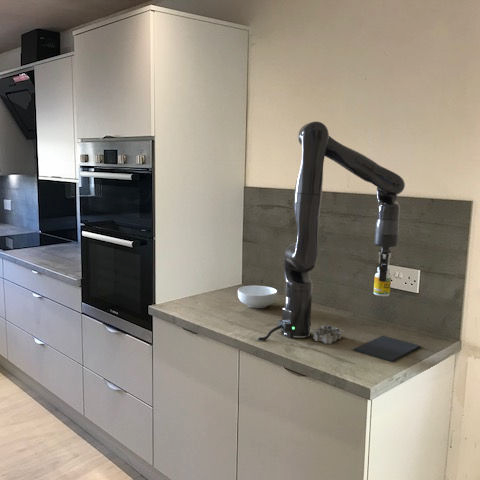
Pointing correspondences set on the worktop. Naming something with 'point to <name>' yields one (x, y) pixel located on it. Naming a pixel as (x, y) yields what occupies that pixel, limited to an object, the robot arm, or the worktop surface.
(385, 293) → the supplement bottle
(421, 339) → the worktop surface
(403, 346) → the placemat
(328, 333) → the egg carton
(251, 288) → the cereal bowl
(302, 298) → the robot arm
